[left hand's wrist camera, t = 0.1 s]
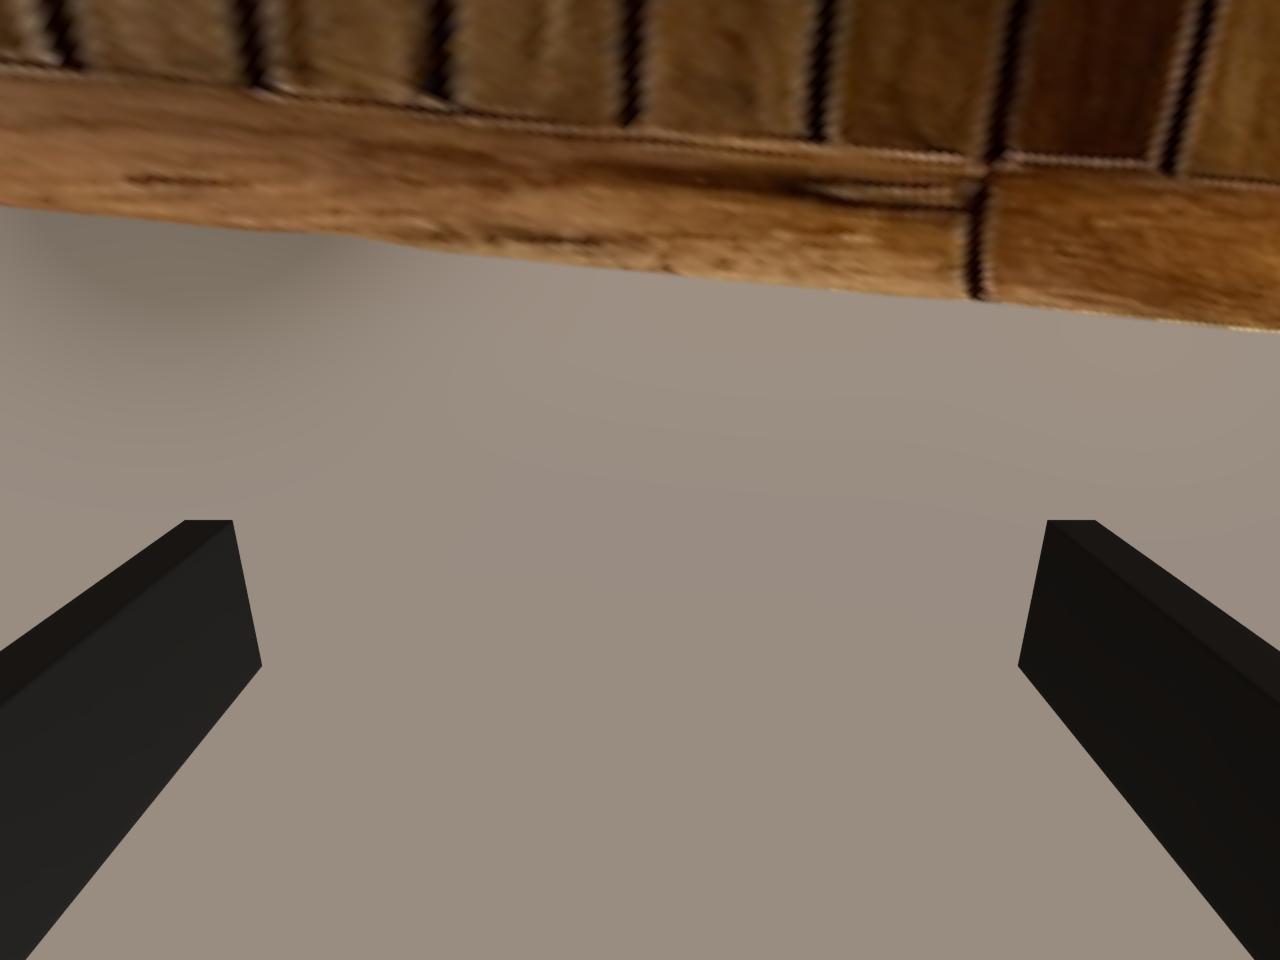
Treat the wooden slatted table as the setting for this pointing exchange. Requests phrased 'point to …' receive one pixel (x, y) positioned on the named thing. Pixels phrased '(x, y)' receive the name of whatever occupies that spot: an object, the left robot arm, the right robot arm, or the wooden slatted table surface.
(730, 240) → the wooden slatted table surface
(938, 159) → the wooden slatted table surface
